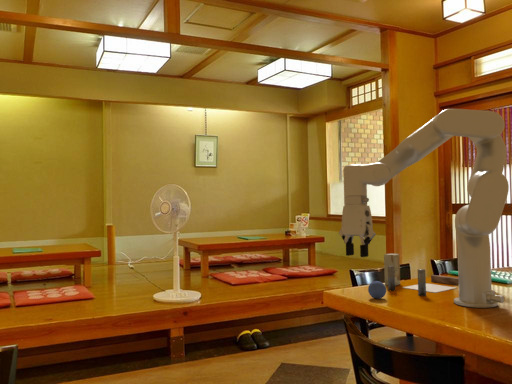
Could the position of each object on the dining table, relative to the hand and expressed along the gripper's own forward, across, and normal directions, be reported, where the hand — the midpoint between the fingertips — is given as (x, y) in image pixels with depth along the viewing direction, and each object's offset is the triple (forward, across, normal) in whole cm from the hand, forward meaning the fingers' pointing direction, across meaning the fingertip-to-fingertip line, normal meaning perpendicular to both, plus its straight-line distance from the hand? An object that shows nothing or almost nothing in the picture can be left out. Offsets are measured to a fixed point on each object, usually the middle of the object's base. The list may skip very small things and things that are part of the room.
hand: (357, 255), depth 156 cm
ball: (+13, 0, -10) cm, 16 cm away
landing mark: (+16, 0, -40) cm, 42 cm away
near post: (+16, -7, -26) cm, 31 cm away
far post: (+16, +6, -26) cm, 31 cm away
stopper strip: (+16, 0, -54) cm, 56 cm away
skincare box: (+16, +14, -36) cm, 41 cm away
